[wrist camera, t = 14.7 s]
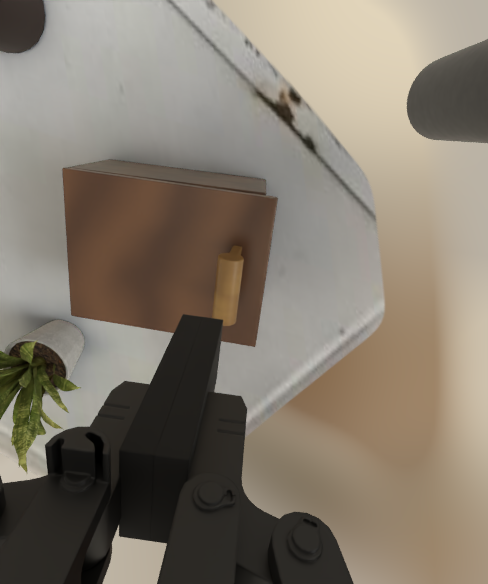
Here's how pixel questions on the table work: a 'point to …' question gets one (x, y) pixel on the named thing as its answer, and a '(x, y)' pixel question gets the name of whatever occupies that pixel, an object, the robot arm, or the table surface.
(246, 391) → the table surface
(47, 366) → the house plant
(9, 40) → the bottle
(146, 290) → the lid
